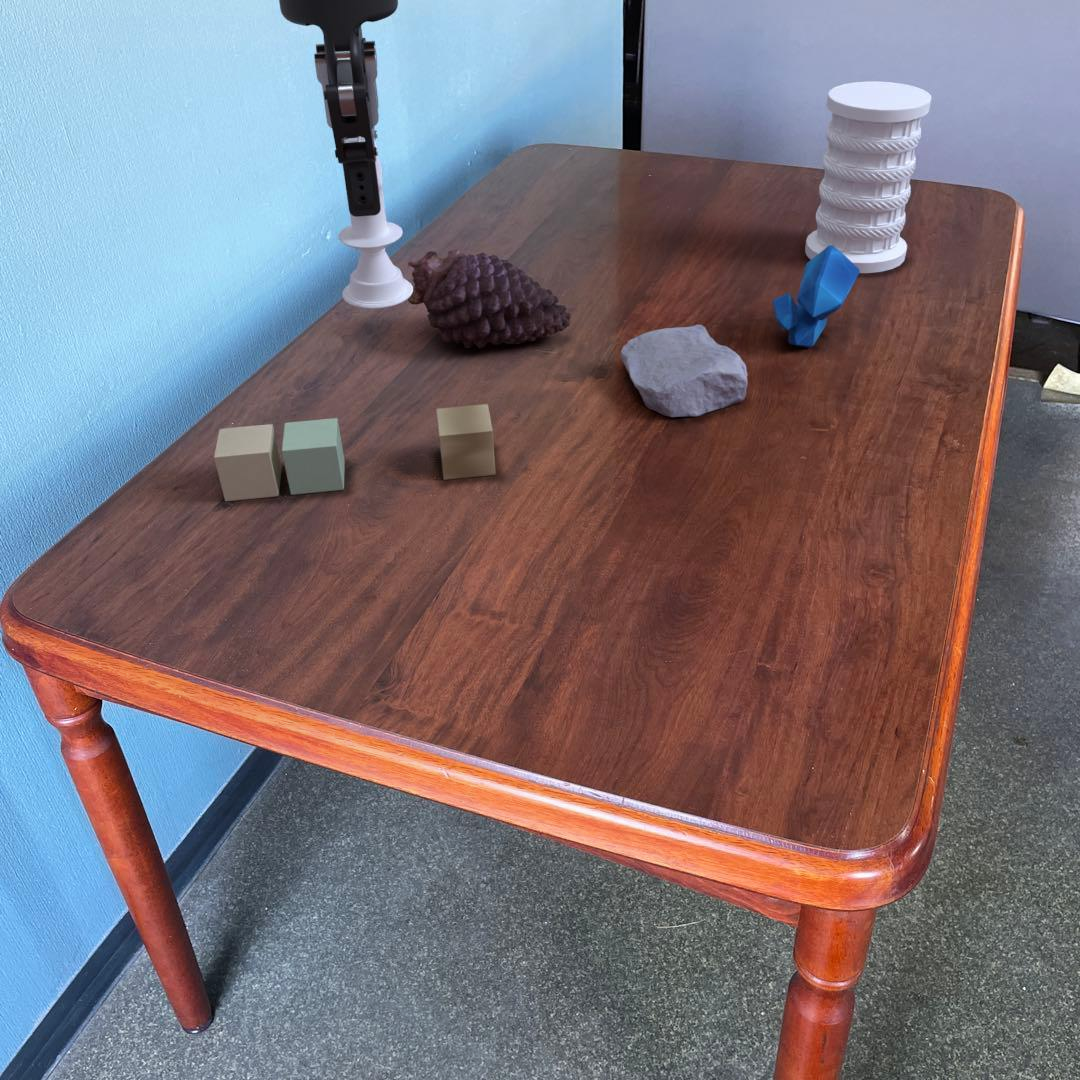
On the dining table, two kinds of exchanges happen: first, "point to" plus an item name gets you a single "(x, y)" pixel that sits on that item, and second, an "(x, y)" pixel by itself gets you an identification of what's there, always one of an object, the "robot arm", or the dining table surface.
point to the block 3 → (466, 441)
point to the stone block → (684, 371)
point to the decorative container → (868, 172)
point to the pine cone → (484, 300)
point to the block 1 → (248, 462)
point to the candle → (374, 257)
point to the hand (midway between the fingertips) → (365, 205)
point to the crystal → (816, 296)
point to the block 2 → (313, 456)
